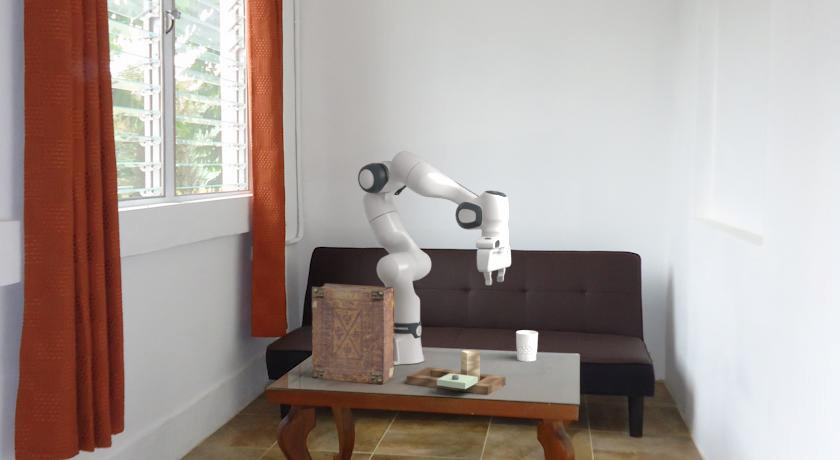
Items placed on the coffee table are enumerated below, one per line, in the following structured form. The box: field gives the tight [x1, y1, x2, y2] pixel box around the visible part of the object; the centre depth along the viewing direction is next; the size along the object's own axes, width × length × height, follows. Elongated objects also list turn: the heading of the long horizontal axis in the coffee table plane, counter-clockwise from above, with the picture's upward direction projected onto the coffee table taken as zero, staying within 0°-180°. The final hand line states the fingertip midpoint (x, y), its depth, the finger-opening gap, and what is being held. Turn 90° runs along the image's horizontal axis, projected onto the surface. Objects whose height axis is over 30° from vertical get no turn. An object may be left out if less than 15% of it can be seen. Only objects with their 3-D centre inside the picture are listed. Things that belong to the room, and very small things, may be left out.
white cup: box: [515, 329, 539, 363], centre depth 307 cm, size 8×8×10 cm
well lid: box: [437, 373, 478, 389], centre depth 261 cm, size 10×9×3 cm
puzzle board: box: [406, 366, 507, 396], centre depth 272 cm, size 28×14×2 cm, turn 62°
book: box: [311, 283, 395, 385], centre depth 278 cm, size 25×9×30 cm, turn 70°
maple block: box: [460, 349, 481, 382], centre depth 269 cm, size 4×4×11 cm
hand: (494, 283), depth 278 cm, fingers open, 8 cm apart
